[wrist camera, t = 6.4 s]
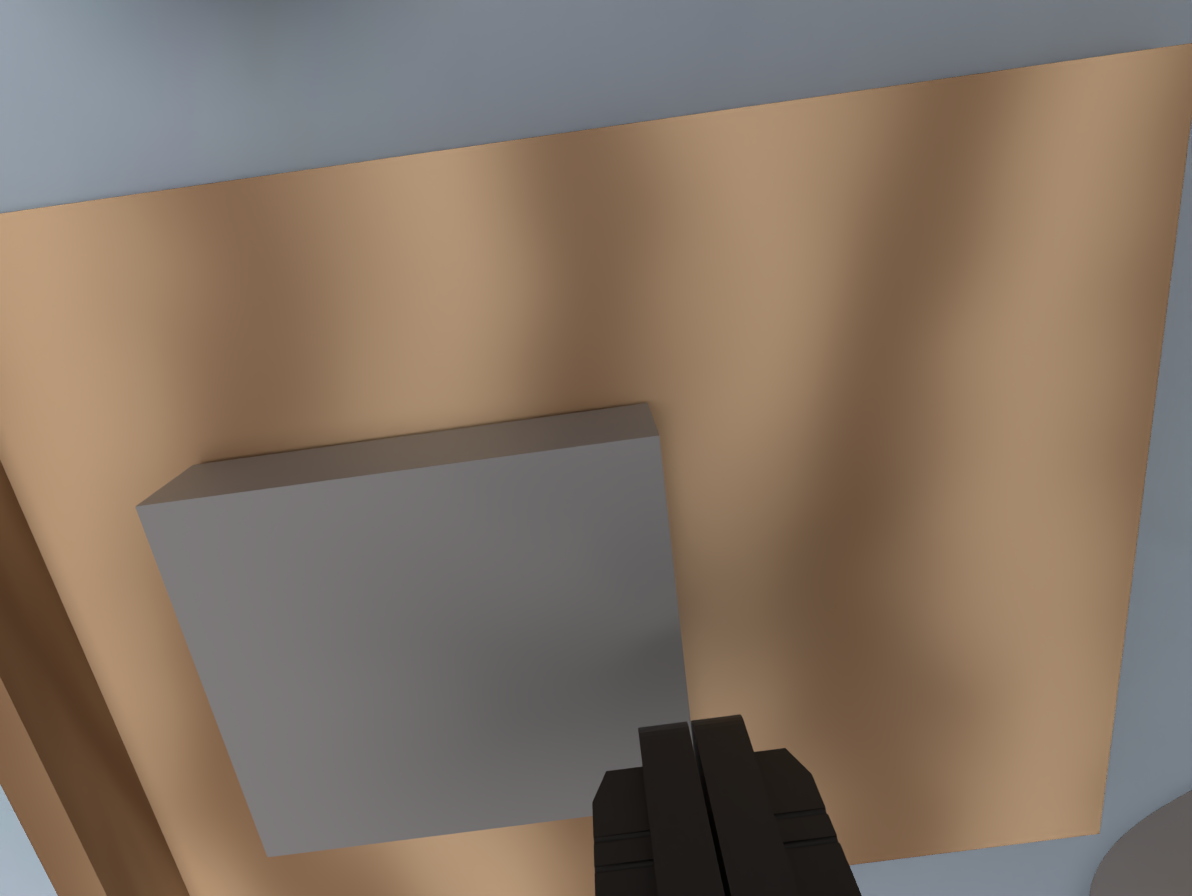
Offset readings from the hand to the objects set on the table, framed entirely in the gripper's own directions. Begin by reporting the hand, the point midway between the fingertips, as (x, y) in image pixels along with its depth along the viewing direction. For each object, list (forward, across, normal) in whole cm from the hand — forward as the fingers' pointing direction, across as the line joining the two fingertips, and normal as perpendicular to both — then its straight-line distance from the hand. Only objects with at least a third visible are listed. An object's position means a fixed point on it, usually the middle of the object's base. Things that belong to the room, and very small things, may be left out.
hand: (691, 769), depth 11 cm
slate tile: (+4, 0, 0) cm, 4 cm away
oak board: (+6, +2, 0) cm, 7 cm away
